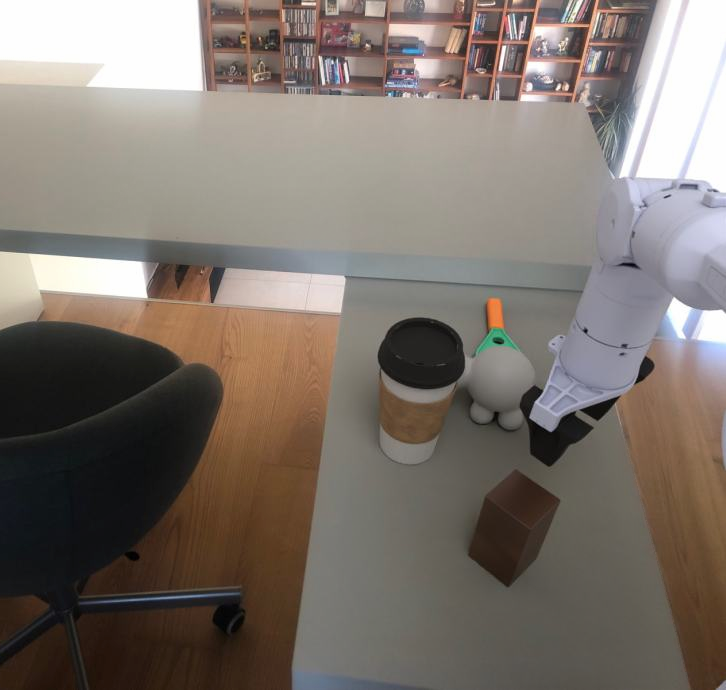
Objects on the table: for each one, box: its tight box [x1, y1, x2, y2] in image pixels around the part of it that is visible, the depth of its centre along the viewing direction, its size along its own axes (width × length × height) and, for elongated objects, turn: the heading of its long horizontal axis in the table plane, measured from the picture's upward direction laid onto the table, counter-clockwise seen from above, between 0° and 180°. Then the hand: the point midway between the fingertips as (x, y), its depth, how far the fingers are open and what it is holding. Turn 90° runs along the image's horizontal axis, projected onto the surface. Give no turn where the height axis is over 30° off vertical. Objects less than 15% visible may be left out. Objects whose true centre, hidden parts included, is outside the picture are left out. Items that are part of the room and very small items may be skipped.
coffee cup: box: [376, 316, 466, 466], centre depth 71 cm, size 8×8×15 cm
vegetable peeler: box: [474, 297, 524, 357], centre depth 87 cm, size 15×6×2 cm, turn 170°
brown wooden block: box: [467, 468, 562, 588], centre depth 62 cm, size 4×4×9 cm
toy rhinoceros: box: [456, 346, 538, 431], centre depth 77 cm, size 7×12×8 cm, turn 68°
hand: (566, 435), depth 62 cm, fingers open, 7 cm apart
